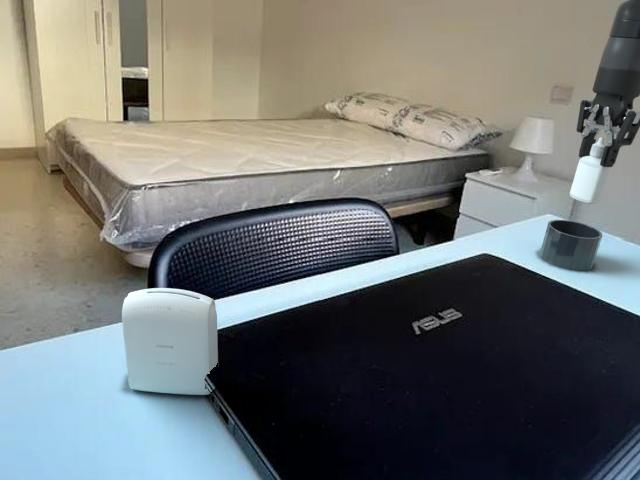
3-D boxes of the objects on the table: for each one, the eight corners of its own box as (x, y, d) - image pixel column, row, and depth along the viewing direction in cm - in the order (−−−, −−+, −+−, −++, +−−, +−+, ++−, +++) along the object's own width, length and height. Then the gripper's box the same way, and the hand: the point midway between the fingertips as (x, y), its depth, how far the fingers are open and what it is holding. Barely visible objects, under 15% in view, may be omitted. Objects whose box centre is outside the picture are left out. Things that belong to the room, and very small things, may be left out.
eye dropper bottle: (575, 203, 94) (594, 139, 89) (567, 194, 99) (584, 133, 94) (600, 206, 93) (620, 142, 88) (590, 196, 98) (609, 136, 93)
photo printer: (122, 392, 56) (113, 297, 51) (136, 368, 60) (129, 277, 55) (213, 400, 56) (212, 305, 51) (221, 376, 60) (221, 285, 55)
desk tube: (571, 250, 106) (581, 220, 103) (602, 271, 97) (613, 239, 95) (529, 250, 104) (538, 219, 102) (557, 272, 96) (567, 238, 93)
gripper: (675, 72, 80) (640, 173, 87) (613, 64, 93) (587, 153, 100) (634, 69, 79) (602, 172, 86) (578, 61, 92) (554, 152, 99)
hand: (594, 161), depth 93 cm, fingers closed on eye dropper bottle, 5 cm apart
